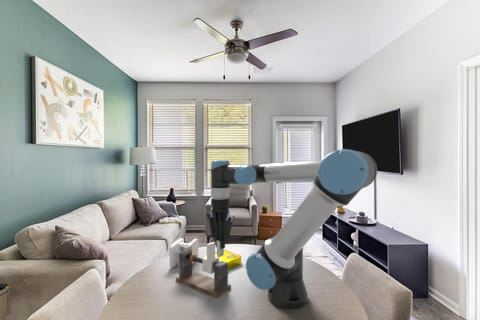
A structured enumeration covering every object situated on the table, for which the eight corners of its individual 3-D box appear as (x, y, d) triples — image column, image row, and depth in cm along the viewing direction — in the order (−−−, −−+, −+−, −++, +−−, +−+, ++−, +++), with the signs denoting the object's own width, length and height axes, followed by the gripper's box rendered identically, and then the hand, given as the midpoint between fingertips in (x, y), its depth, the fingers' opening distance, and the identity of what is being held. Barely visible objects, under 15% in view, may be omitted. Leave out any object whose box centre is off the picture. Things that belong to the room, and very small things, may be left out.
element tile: (223, 256, 137) (223, 247, 137) (243, 264, 126) (243, 254, 126) (202, 264, 126) (202, 255, 126) (221, 273, 115) (221, 263, 115)
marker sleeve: (219, 269, 102) (219, 242, 102) (211, 274, 98) (211, 246, 98) (210, 266, 105) (210, 240, 105) (202, 271, 101) (202, 243, 101)
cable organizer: (188, 270, 118) (188, 246, 118) (168, 269, 119) (168, 245, 119) (198, 258, 132) (198, 237, 133) (180, 257, 134) (180, 236, 134)
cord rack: (230, 288, 101) (230, 253, 101) (216, 298, 94) (216, 260, 94) (190, 273, 115) (190, 242, 115) (175, 280, 108) (175, 247, 108)
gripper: (238, 198, 98) (238, 256, 98) (214, 195, 106) (214, 249, 105) (226, 200, 92) (226, 263, 92) (202, 197, 99) (202, 255, 99)
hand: (220, 255), depth 98 cm, fingers closed
